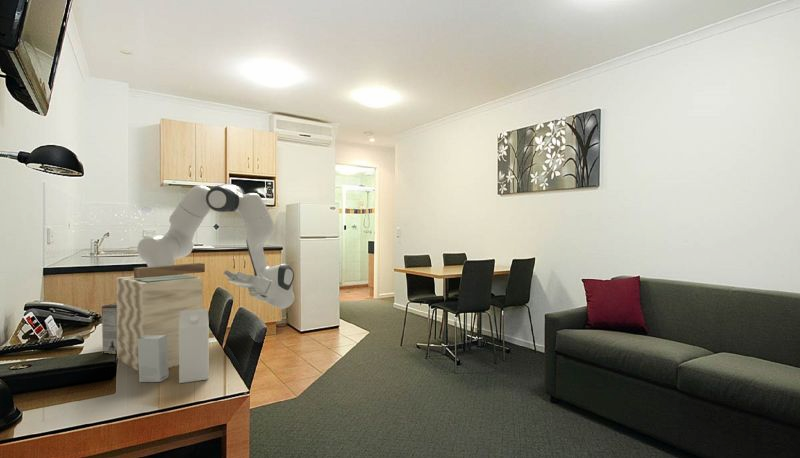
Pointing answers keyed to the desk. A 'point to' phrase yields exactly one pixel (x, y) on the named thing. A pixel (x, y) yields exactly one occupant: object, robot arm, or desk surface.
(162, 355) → the skincare box
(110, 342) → the coffee box
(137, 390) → the desk surface
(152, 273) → the walnut bar
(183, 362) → the milk carton
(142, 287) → the birch stand
